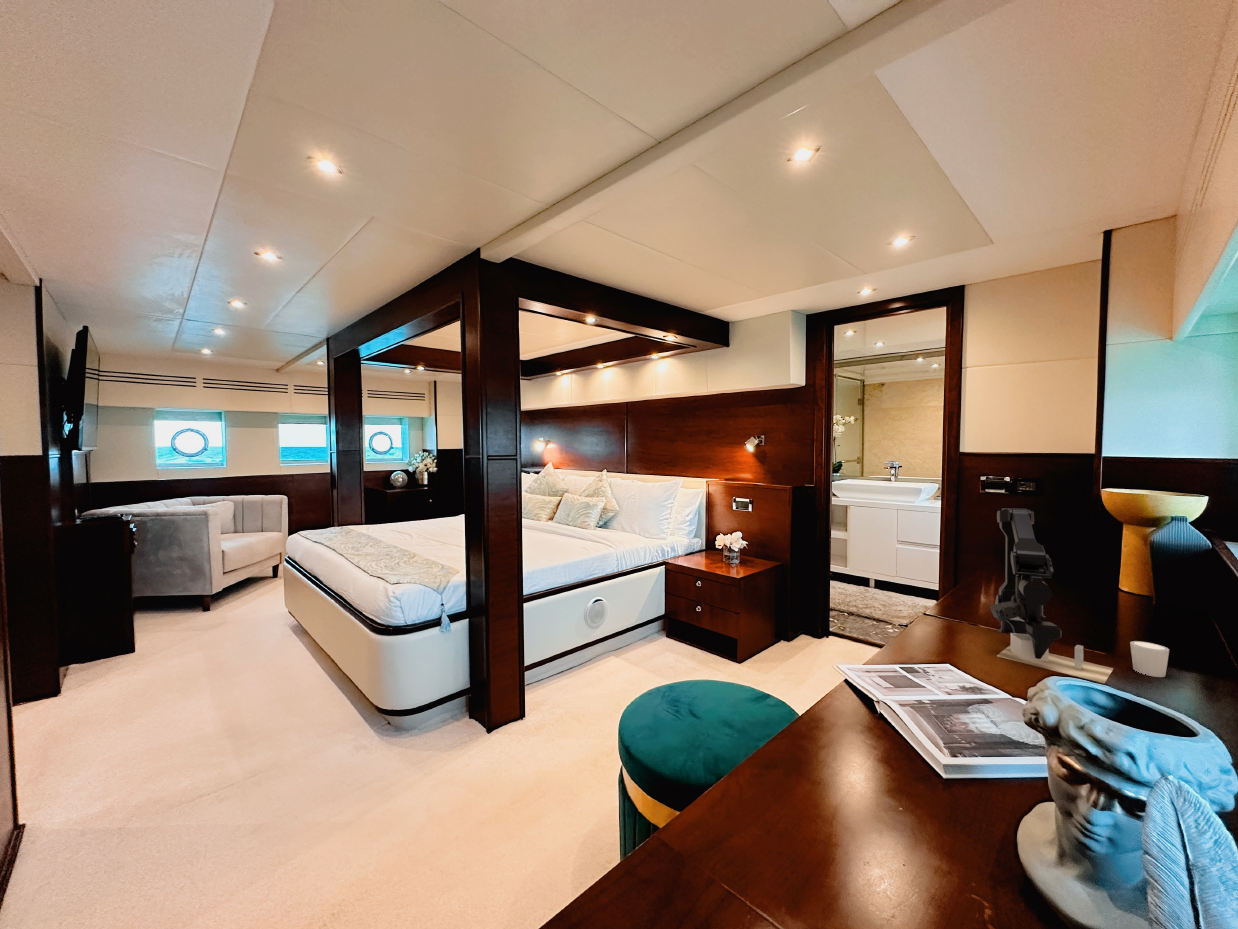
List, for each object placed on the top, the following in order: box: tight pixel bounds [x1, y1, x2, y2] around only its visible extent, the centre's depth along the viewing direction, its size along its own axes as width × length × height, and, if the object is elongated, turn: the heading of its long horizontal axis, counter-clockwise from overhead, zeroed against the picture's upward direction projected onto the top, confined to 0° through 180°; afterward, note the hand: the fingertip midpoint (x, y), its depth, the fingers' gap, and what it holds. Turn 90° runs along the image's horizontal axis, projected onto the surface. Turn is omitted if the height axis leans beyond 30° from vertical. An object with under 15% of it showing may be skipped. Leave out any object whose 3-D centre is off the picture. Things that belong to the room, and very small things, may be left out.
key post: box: [1074, 644, 1084, 670], centre depth 125 cm, size 3×1×6 cm, turn 128°
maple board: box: [996, 644, 1114, 684], centre depth 129 cm, size 14×21×2 cm, turn 38°
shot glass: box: [1129, 640, 1170, 678], centre depth 126 cm, size 7×7×7 cm
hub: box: [1010, 633, 1049, 662], centre depth 133 cm, size 6×6×5 cm
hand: (1028, 652), depth 133 cm, fingers open, 9 cm apart
